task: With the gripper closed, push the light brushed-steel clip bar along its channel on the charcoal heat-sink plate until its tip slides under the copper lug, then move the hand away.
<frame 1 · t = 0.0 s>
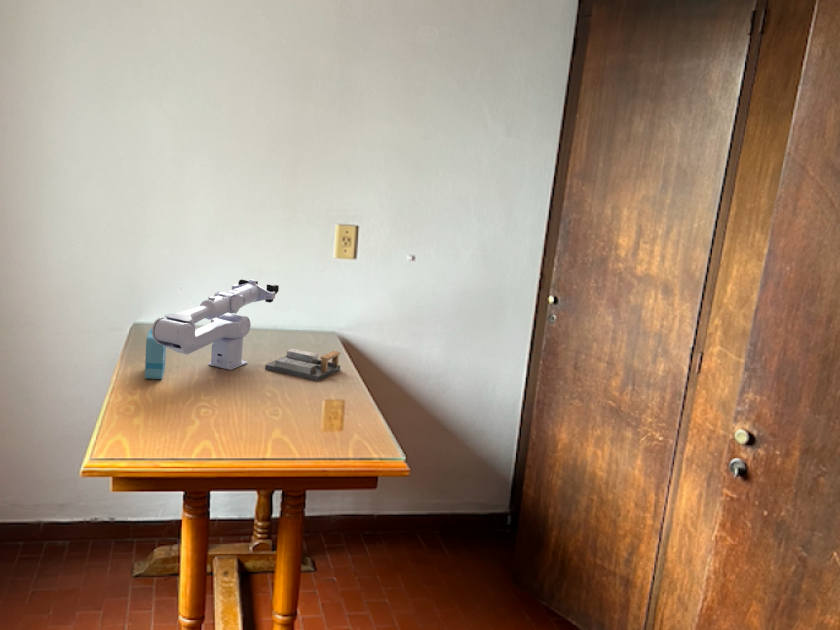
hand: (267, 286, 251), 22 cm above the table, tool horizontal, fingers open, 7 cm apart
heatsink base: (303, 369, 241), on the table
clip bar: (302, 356, 243), point 3 cm above the table, slide at 0.0 cm
data package: (154, 374, 221), on the table
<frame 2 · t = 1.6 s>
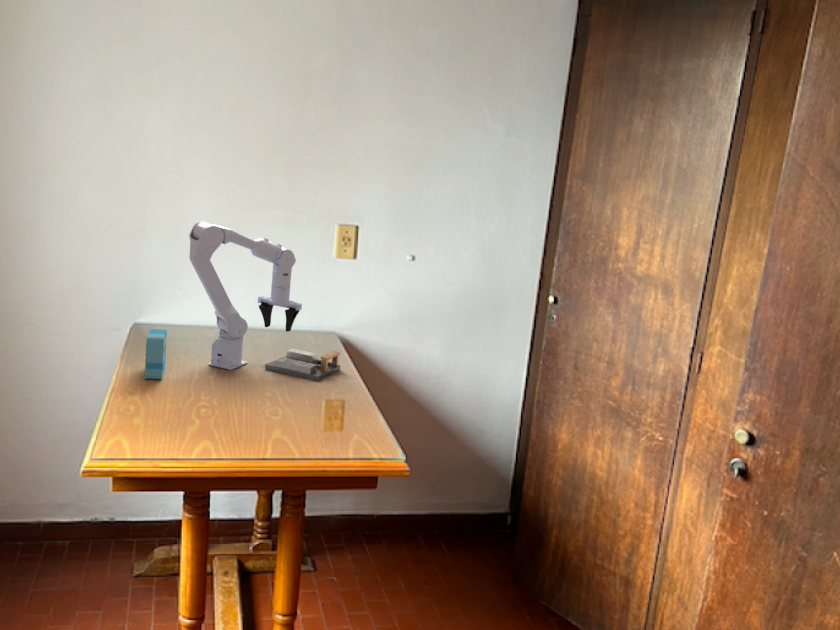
hand: (277, 328, 245), 10 cm above the table, tool pointing down, fingers open, 7 cm apart
nothing on the table moved.
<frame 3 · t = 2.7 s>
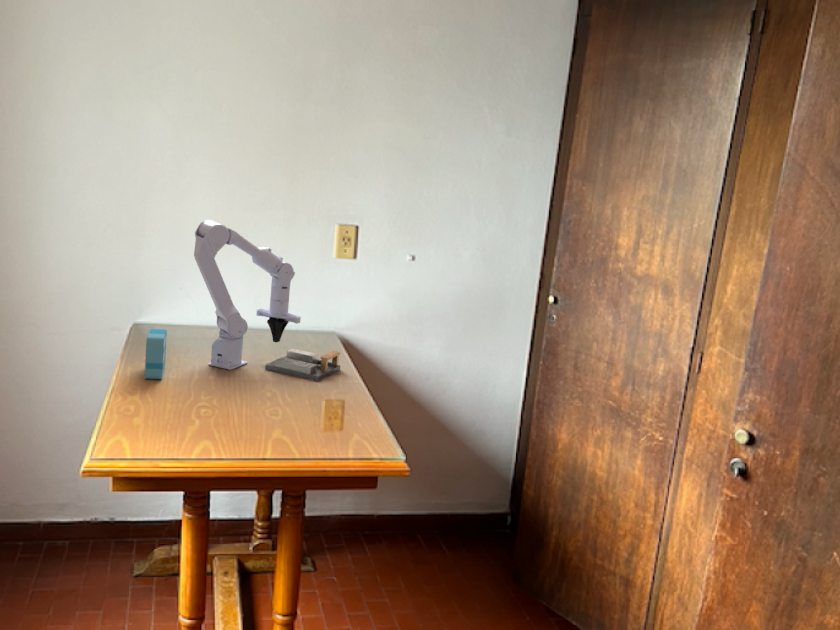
hand: (276, 341, 246), 6 cm above the table, tool pointing down, fingers closed
nothing on the table moved.
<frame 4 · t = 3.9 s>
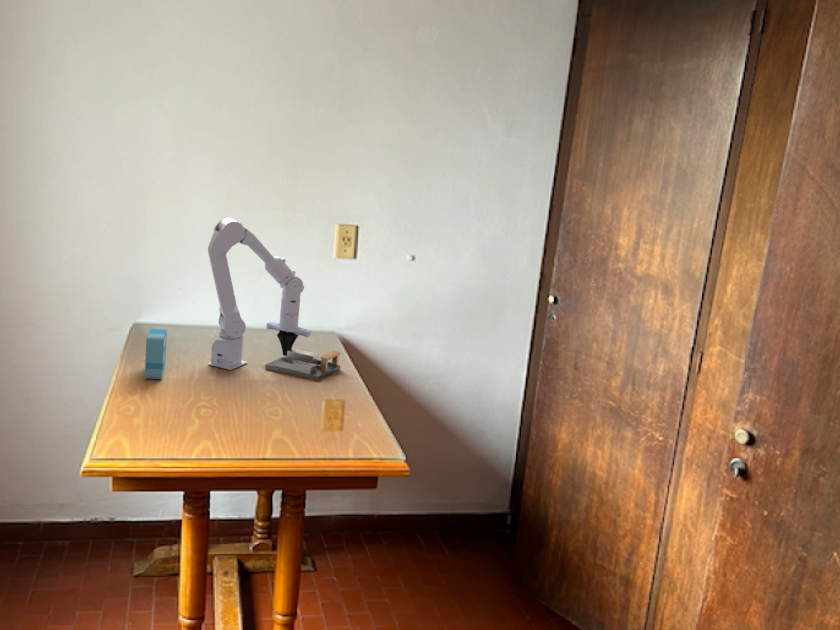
hand: (286, 355, 245), 3 cm above the table, tool pointing down, fingers closed
clip bar: (302, 357, 243), point 3 cm above the table, slide at 0.1 cm, touching gripper
everything else where it was.
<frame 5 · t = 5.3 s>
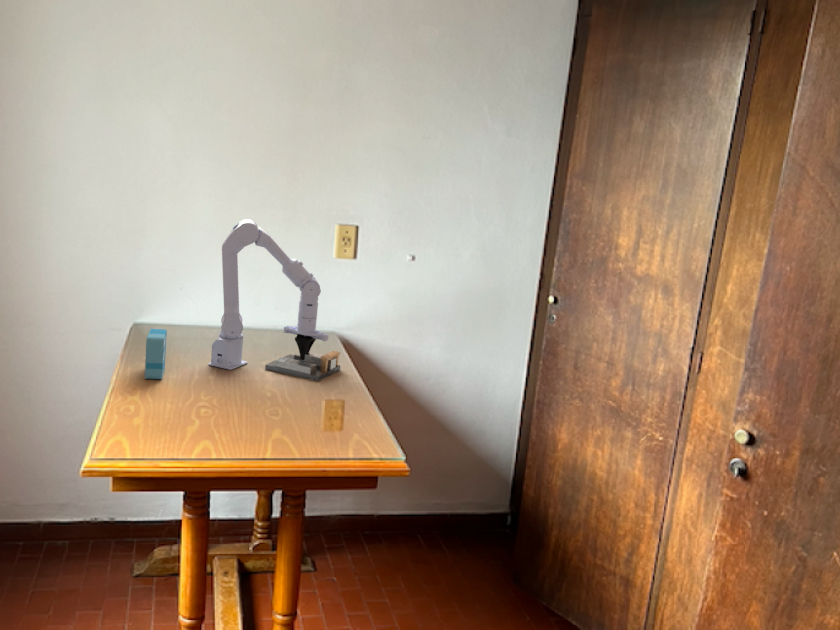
hand: (303, 358, 243), 3 cm above the table, tool pointing down, fingers closed
clip bar: (320, 360, 241), point 3 cm above the table, slide at 6.3 cm, touching gripper
everything else where it was.
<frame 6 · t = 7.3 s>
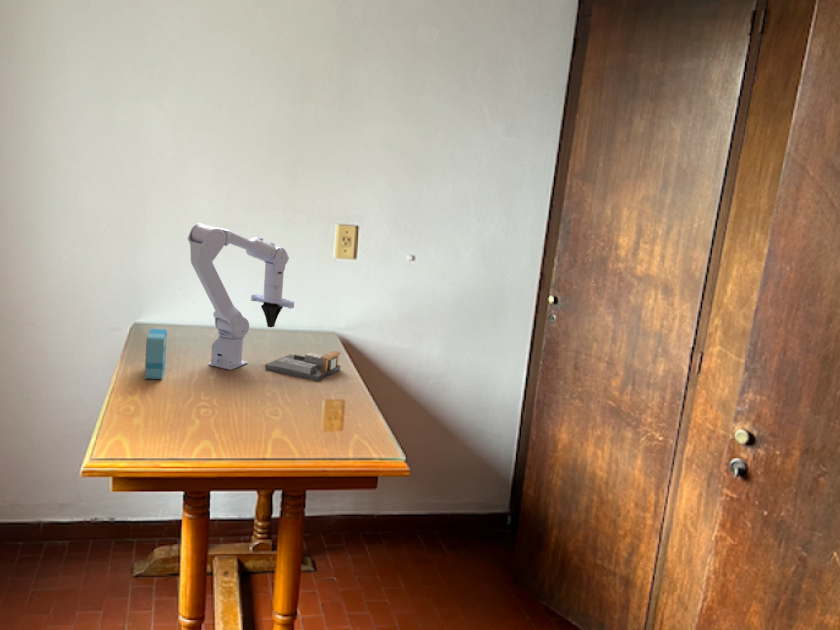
hand: (270, 326, 247), 10 cm above the table, tool pointing down, fingers closed
clip bar: (320, 360, 241), point 3 cm above the table, slide at 6.3 cm
everything else where it was.
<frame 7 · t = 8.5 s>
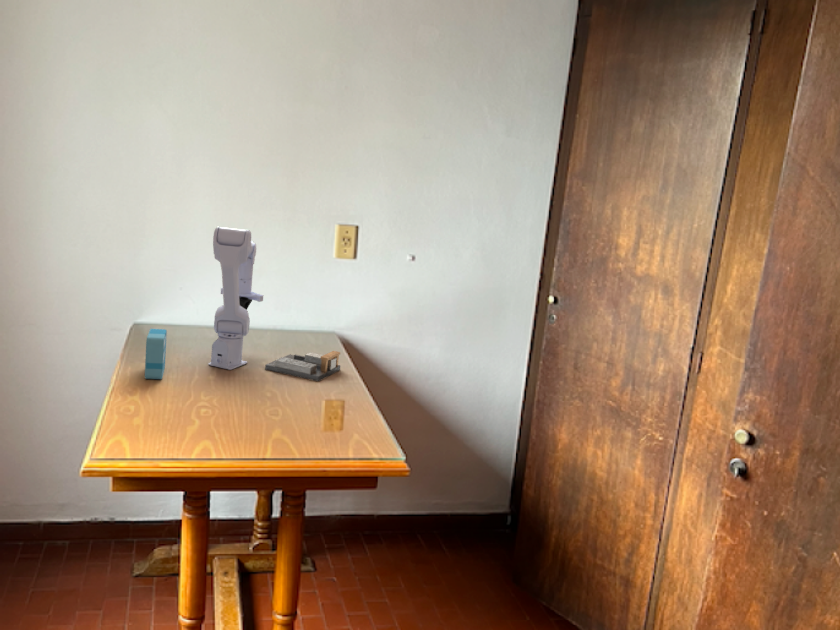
hand: (240, 319, 251), 10 cm above the table, tool pointing down, fingers closed
nothing on the table moved.
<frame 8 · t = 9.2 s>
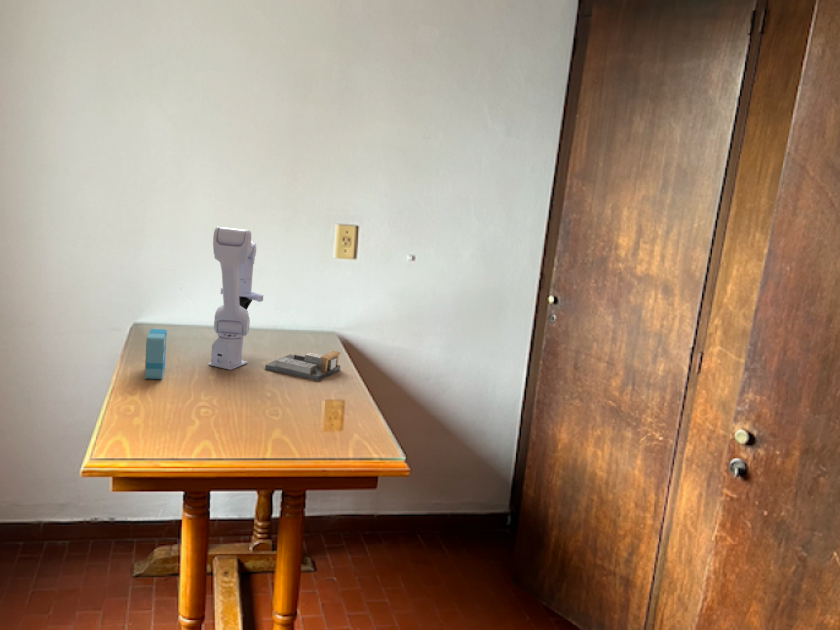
hand: (240, 319, 251), 10 cm above the table, tool pointing down, fingers closed
nothing on the table moved.
at the end: clip bar slide at 6.3 cm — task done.
